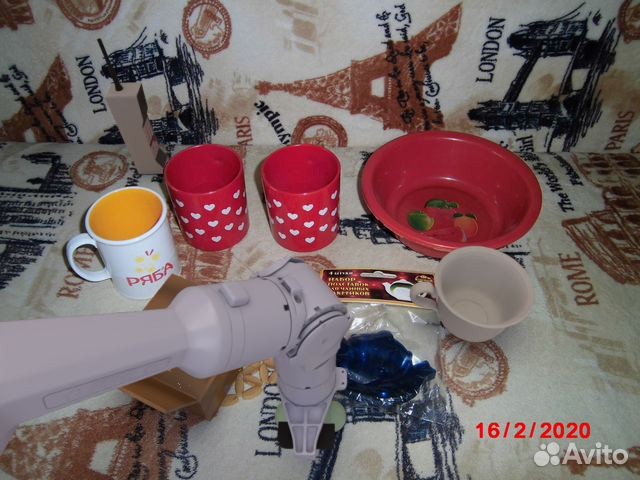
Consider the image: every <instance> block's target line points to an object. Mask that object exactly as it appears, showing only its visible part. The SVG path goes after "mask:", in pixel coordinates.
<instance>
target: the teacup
mask: <svg viewBox="0 0 640 480" xmlns="http://www.w3.org/2000/svg"><path fill="white" fill-rule="evenodd" d="M434 285H435V286H434ZM422 294H430V297H431V298H432V299H431V298H428V297H425V296H420V295H422ZM535 296H536V292H535V287H534V284H533V281H532V279H531V277H530V275H529V274H528V272H527V271H526V269H525V268H524V267H523V266H522V265H521V264H520V263H519V261H517V260H515V258H512V257H511V255H508V254H506V253H504V252H502V251H500V250H498V249H494V248H492V247H487V246H482V245H468V246H467V245H466V246H462V247H459V248H456V249H454V250H451V251H450V252H448V253H447V254H446V255H444V256H443V257H442V258H441V260H440V261H439V262H438V264H437V266H436V269H435V273H434V284H433V283H432V282H430V281H419V282H417V283H415V284H413V285H412V286H411V288H410V290H409V299H410V301H411V302H412V304H414V305H415V306H417V307H420V308H423V309H429V310H432V311H434V312H436V313H437V314H438V317H439V320H440V322H441V324H442V325H443V327H444V328H445V330H447V331H448V332H449V333H450V334H452V335H453V336H454V337H457V338H458V339H460V340H463V341H466V342H471V343H482V342H487V341H489V340H493V338H496V337H497V336H499V335H500V334H502V332H504V331H505V330H506V329H507V328H509V327H511V326H514V325H517V324H518V323H521V322H522V321H523V320H525V318H527V316H528V315H530V313H531V311H532V310H533V308H534V304H535ZM433 299H436V301H435V300H433Z"/></svg>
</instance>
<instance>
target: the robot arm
mask: <svg viewBox="0 0 640 480" xmlns="http://www.w3.org/2000/svg"><path fill="white" fill-rule="evenodd" d="M142 310H143V309H142ZM142 310H132V311H131V310H130V311H119V312H104V313H93V314H92V313H91V314H79V315H66V316H54V317H52V316H51V317H40V318H28V319H27V318H26V319H13V320H1V321H0V457H1V456H2V454H3V453H4V451H5V450H6V448H7V446H8V444H9V443H10V442H11V439H12V438H13V437H14V435H15V433H16V431H17V429H18V427H19V426H20V425H21V424H23V423H26V422H28V421H32V420H34V419H37V418H39V417H42V416H45V415H48V414H50V413H54V412H56V411H59V410H62V409H65V408H67V407H70V406H73V405H75V404H78V403H81V402H84V401H86V400H89V399H92V398H94V397H97V396H100V395H103V394H106V393H109V392H111V391H115V390H118V389H117V388H120V387H123V386H125V385H128V384H131V383H134V382H136V381H139V380H142V379H145V378H147V377H150V376H153V375H156V374H158V373H161V372H164V371H167V370H169V369H172V368H175V367H178V368H180V369H181V370H183V371H184V372H186V373H187V374H189V375H190V376H193V377H195V378H200V379H203V378H208V377H211V376H214V375H218V374H221V373H224V372H228V371H231V370H234V369H237V368H241V367H242V368H244V367H247V366H250V365H255V364H257V363H261V362H263V361H267V360H271V359H272V360H273V364H274V369H275V372H276V386H277V390H278V394H279V397H280V400H281V403H282V404H283V407H284V411H285V414H286V418H287V421H288V422H285V421H279V422H278V425H277V434H276V438H277V439H276V440H277V444H278V446H279V448H281V449H285V450H293V451H292V452H293V458H294V460H295V461H316V460H317V450H330V449H332V448H333V447H334V445H335V442H336V432H335V424H332V423H324V420H325V418H326V415H327V412H328V409H329V407H330V404H331V401H332V400H333V398H334V395H335V393H336V392H337V391H343V390H346V388H347V387H348V372H347V369H346V368H344V367H337V363H336V362H337V353H338V352H339V349H341V342H342V340H343V338H344V337H345V336H346V334H347V333H348V332H349V330H350V328H351V326H352V325H353V323H354V320H355V316H353V315H352V316H351V314H350V313H349V312H348V307H347V305H346V304H344V302H343V301H342V299H340V298H339V296H338V295H337V294H336V293H335V292H334V291H333V290H332V289H331V287H330V286H329V285H328V284H327V283H326V282H325V280H323V278H321V276H320V275H319V274H318V273H317V271H316V270H315V269H314V268H313V267H312V266H311V265H310V264H308V263H307V262H306V261H305V259H303V258H301V257H296V256H295V257H293V256H286V257H283V258H281V259H279V260H277V261H276V262H274V263H272V264H270V265H269V266H267V267H266V268H264V269H261V270H256V271H255V272H254V273H251V274H250V276H249V277H248V279H240V280H239V279H238V280H232V281H225V282H224V281H223V282H218V283H208V284H199V286H191V287H187V288H185V289H183V290H182V291H180V292H179V293H178V294H177V296H176V297H175V298H174V300H173V301H172V302H171V304H170V305H169V306H168V307H167V308H166V309H156V310H143V311H142Z"/></svg>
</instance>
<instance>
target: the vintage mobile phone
mask: <svg viewBox="0 0 640 480" xmlns="http://www.w3.org/2000/svg"><path fill="white" fill-rule="evenodd" d="M96 41H97V44H98V46H99V49H100V51H101V53H102V55H103V58H104V61H105V63H106V65H107V69H108V73H109V74H110V76H111V80H112V83H111V84H110V86H109V88H108V91H107V93H106V95H105V97H104V98H105V102H106V103H107V106H108V108H109V110H110V113H111V115H112V118H113V119H114V122H115V123H116V126H117V128H118V131H119V133H120V135H121V137H122V140H123V142H124V144H125V147H126V148H127V151H128V153H129V155H130V157H131V160H132V161H133V165H134V166H135V168H136V171H137V173H138V175H164V174H163V169H164V167H165V165H166V163H167V162H168V161H169V162H170V158H169V155H168V154H167V153H166V152H165V151H164V150H162V148H161V146H160V144H159V141H158V139H157V136H156V133H155V131H154V128H153V125H152V123H151V121H150V117H149V115H148V110H149V106H148V101H147V98H146V95H145V94H146V93H145V90H144V86H143V82H121V81H120V79H119V77H118V75H117V73H116V70H115V68H114V66H113V64H112V62H111V60H110V57H109V54H108V52H107V49H106V47H105V45H104V42H103V40H102V38H100V37H98V38H96Z"/></svg>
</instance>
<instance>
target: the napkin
mask: <svg viewBox="0 0 640 480" xmlns="http://www.w3.org/2000/svg"><path fill="white" fill-rule="evenodd" d="M274 421H275V424H276V425H277V426H278V422H279V421H285V422H288V421H287V418H286V414H285V411H284V407H283V404H282V402H281V403H279V404H278V406H277V407H276V409H275V411H274ZM346 421H347V412H346V409H345V407H344V405H343V404H341V403H340V402H339V401H336V400H333V399H332V401H331V404H330V407H329V409H328V412H327V415H326V418H325V420H324V423H332V424H335V433H336V432H339V431H340V430H341V429H342V428H344V426H345V424H346Z"/></svg>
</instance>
